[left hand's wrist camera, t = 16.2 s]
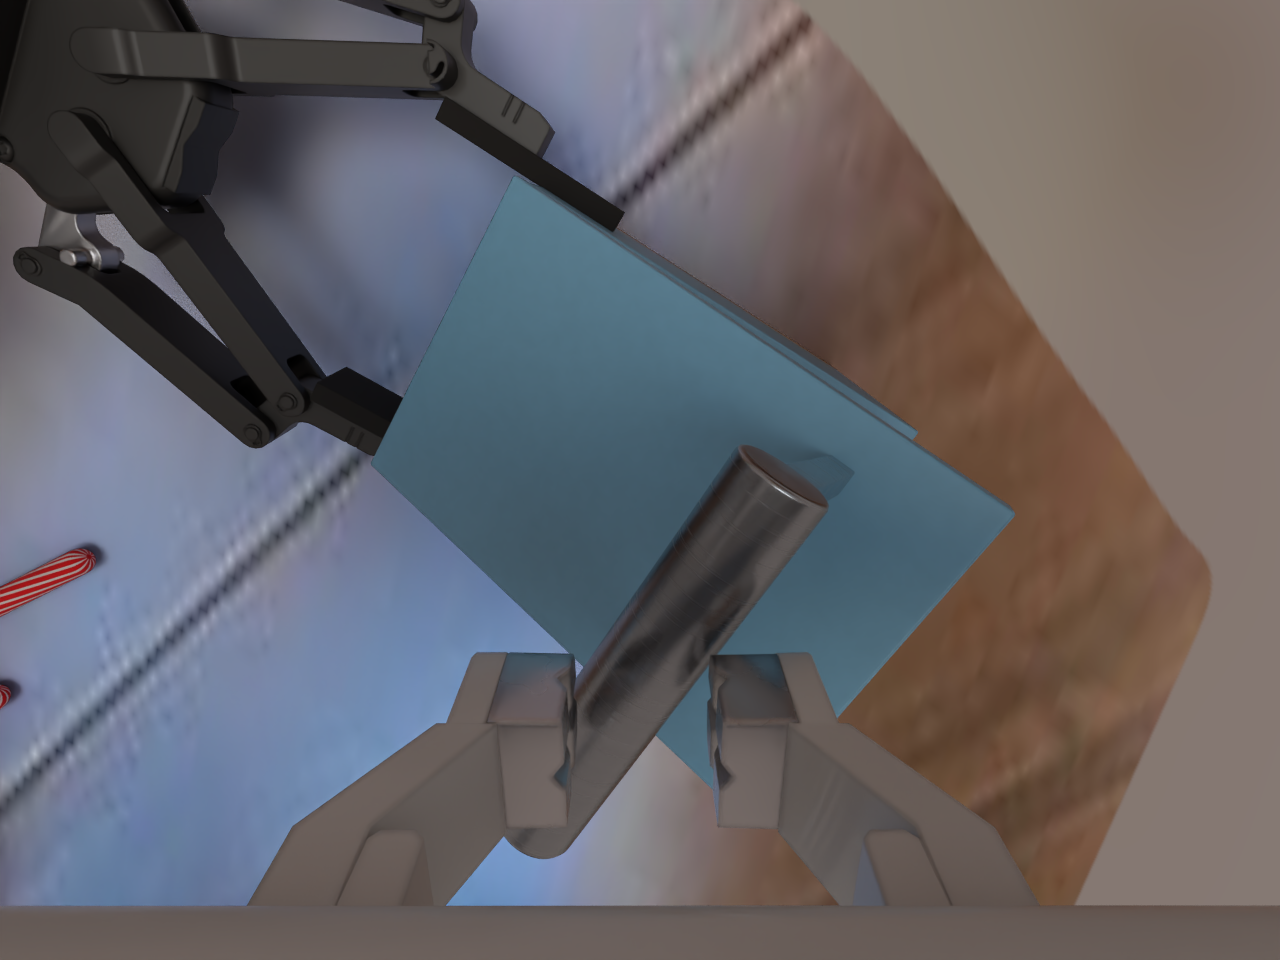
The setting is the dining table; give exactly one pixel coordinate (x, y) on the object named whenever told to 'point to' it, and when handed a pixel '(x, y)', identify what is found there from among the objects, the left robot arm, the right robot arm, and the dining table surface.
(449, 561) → the dining table surface
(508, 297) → the lid
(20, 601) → the candy cane
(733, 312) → the chest
